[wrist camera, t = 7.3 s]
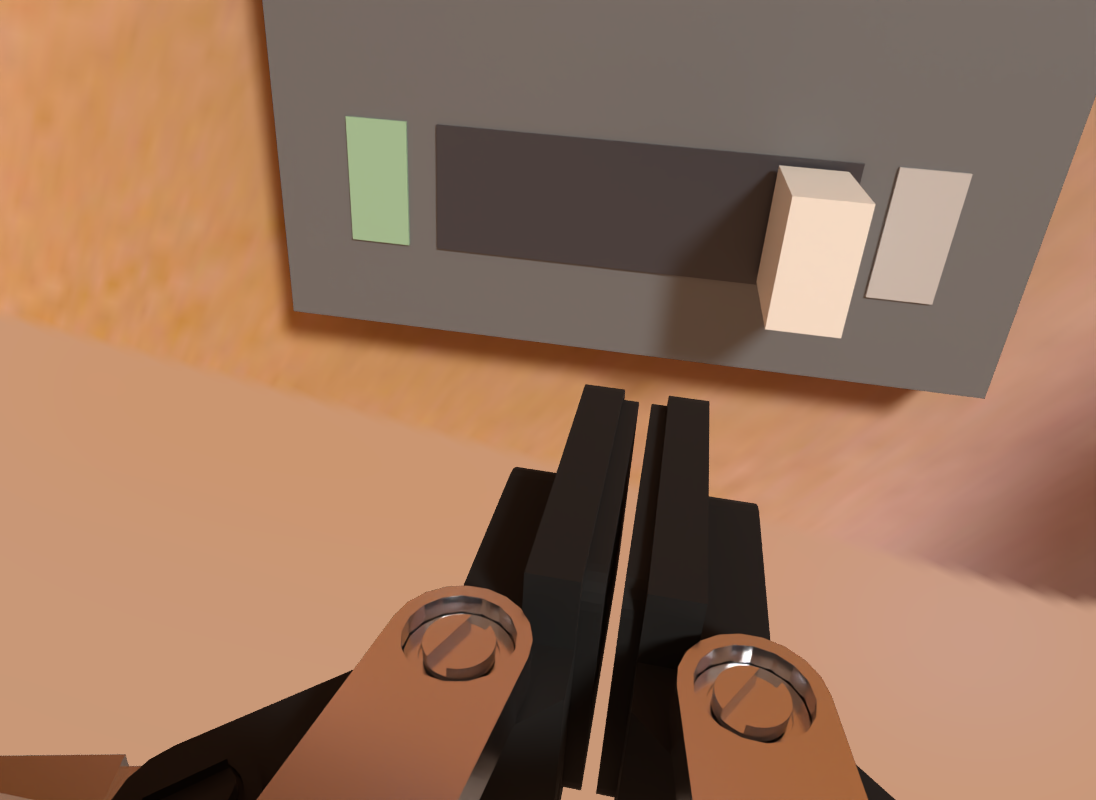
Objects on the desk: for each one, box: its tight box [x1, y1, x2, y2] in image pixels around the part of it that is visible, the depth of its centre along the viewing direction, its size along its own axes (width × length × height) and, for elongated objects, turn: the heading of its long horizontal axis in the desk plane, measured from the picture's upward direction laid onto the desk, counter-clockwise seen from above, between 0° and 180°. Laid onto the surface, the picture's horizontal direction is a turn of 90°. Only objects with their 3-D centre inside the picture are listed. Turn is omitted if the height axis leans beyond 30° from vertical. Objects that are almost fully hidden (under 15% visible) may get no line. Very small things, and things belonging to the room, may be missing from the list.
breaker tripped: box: [756, 165, 876, 338], centre depth 22 cm, size 2×4×4 cm, turn 177°
